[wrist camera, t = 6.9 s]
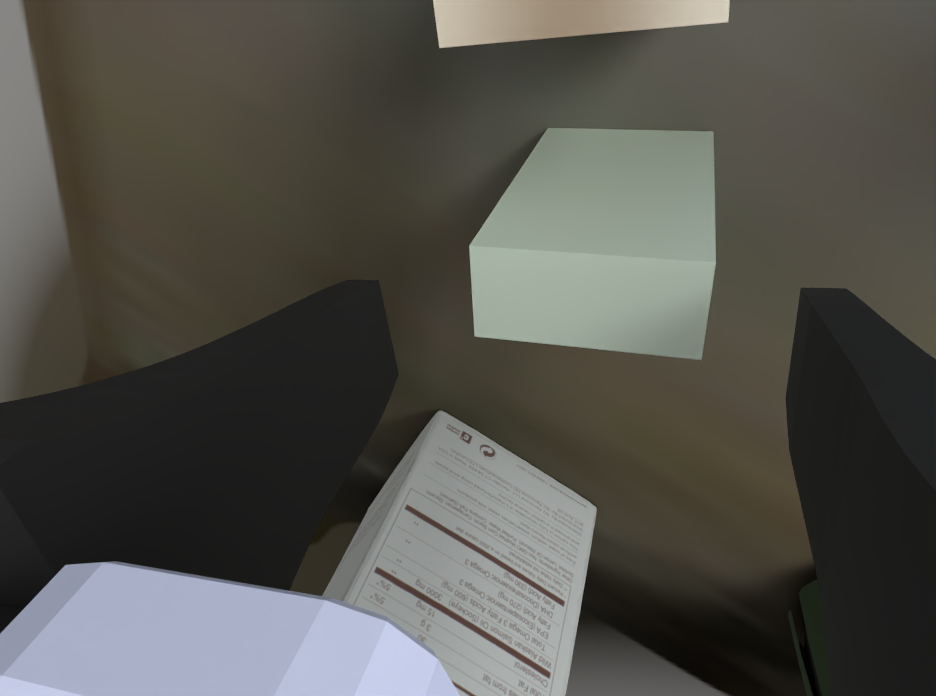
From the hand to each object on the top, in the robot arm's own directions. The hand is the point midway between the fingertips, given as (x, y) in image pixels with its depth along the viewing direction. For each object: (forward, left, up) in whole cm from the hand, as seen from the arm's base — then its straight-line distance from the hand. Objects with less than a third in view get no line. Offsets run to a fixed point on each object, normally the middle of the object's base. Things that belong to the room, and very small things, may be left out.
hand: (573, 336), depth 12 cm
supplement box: (+6, +14, -10) cm, 18 cm away
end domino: (0, 0, -9) cm, 9 cm away
